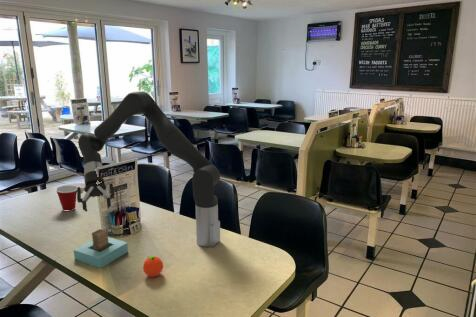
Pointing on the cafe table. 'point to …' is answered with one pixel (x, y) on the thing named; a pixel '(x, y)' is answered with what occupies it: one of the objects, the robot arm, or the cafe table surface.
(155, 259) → the clementine
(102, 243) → the peg
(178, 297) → the cafe table surface
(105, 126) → the robot arm
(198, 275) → the cafe table surface
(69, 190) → the plastic cup
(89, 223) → the cafe table surface
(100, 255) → the socket block
